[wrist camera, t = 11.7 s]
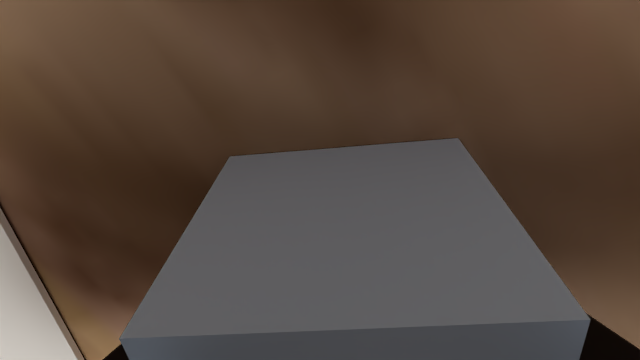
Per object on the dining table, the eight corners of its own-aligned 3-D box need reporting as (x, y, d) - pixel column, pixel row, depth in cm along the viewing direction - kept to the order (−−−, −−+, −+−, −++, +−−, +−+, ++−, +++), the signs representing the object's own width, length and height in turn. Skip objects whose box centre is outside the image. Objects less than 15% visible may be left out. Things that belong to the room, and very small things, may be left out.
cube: (457, 137, 8) (590, 320, 4) (448, 310, 11) (525, 548, 6) (230, 156, 9) (119, 339, 4) (266, 317, 11) (218, 546, 7)
